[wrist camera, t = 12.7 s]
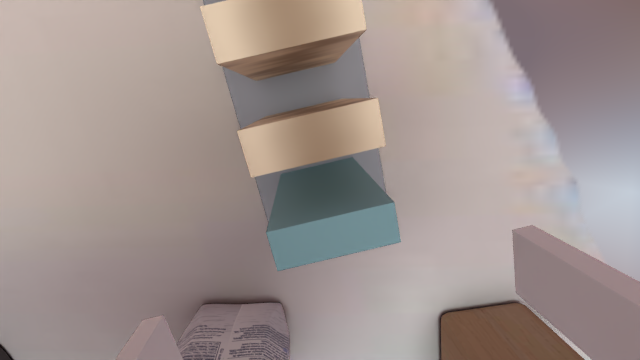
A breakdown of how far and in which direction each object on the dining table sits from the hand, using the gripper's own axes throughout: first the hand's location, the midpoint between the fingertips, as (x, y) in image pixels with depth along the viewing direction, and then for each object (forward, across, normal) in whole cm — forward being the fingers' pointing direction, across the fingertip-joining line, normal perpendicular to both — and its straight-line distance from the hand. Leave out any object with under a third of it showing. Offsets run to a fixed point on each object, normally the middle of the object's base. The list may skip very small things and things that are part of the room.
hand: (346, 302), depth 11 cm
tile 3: (+18, 0, +11) cm, 21 cm away
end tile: (+18, 0, 0) cm, 18 cm away
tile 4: (+18, 0, +6) cm, 19 cm away
